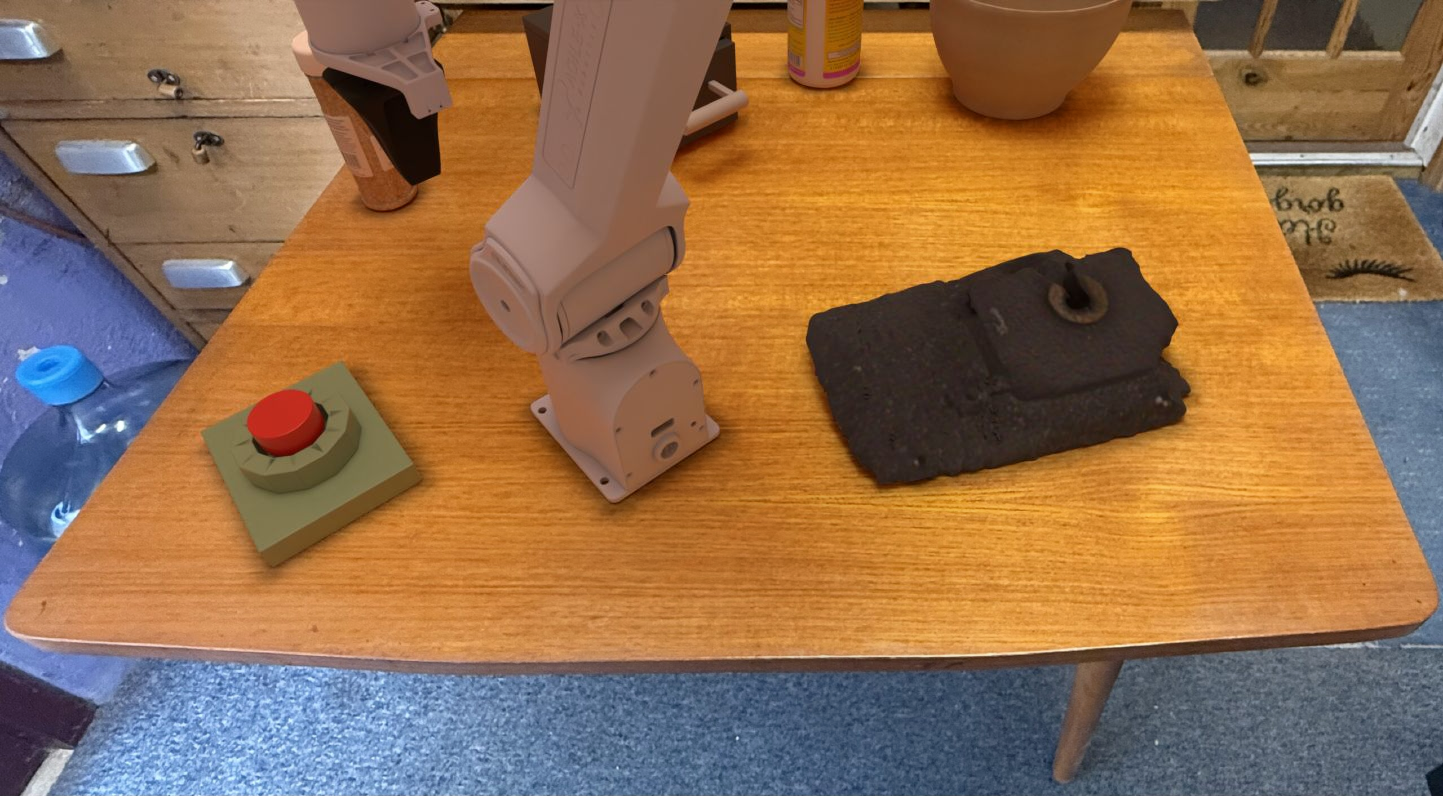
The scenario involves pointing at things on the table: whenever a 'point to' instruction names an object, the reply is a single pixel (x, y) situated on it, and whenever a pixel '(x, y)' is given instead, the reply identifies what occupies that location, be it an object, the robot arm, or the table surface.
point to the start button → (285, 422)
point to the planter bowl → (1022, 50)
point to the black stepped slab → (999, 365)
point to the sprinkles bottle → (354, 139)
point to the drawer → (716, 95)
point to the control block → (312, 469)
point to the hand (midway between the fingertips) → (422, 175)
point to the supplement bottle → (824, 41)
